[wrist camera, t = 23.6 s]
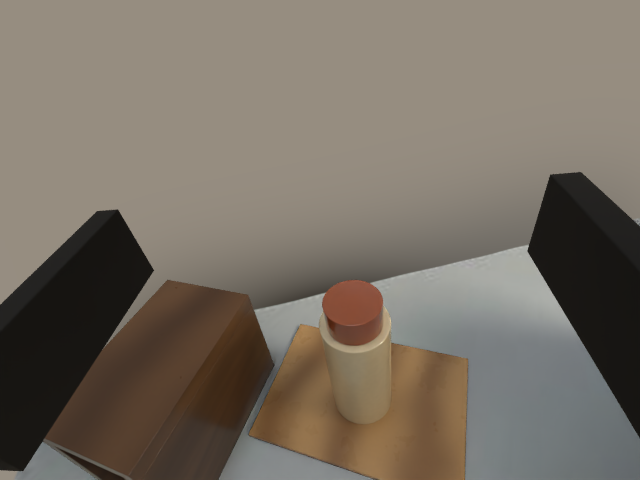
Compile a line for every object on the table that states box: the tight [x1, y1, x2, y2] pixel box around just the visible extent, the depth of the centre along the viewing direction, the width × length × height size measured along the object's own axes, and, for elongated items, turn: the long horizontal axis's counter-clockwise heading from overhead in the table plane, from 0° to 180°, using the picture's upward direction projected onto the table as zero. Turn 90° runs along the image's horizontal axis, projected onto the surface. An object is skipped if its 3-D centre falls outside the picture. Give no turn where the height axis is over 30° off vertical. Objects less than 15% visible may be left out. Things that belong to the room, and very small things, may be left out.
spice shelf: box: [43, 280, 274, 480], centre depth 33 cm, size 10×16×12 cm, turn 161°
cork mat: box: [249, 324, 468, 480], centre depth 36 cm, size 20×14×1 cm
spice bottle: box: [319, 280, 392, 424], centre depth 32 cm, size 6×6×14 cm
